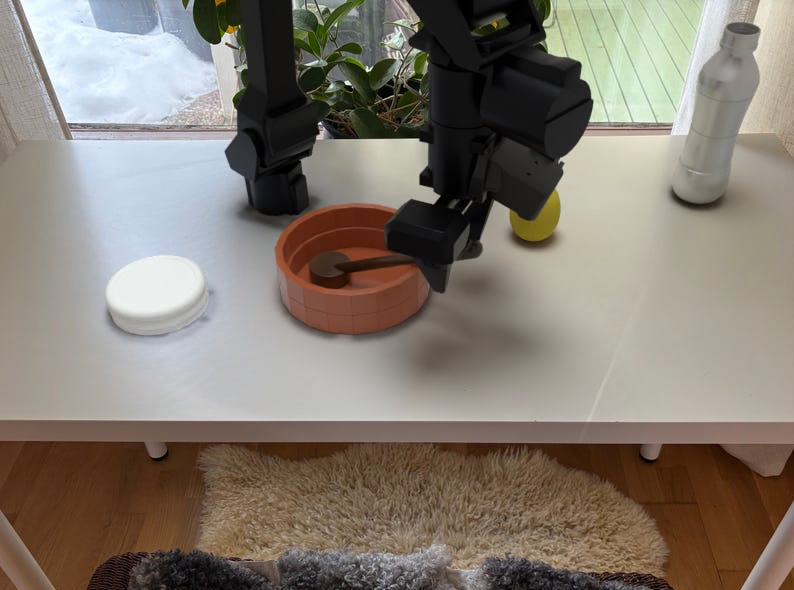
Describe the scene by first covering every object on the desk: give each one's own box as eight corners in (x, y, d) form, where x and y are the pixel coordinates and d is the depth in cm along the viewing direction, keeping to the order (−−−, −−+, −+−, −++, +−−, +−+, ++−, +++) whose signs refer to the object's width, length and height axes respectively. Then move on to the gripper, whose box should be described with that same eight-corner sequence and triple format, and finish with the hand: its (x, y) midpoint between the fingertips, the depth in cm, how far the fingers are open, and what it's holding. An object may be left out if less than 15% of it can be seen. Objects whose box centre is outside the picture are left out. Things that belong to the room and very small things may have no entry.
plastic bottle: (729, 190, 95) (783, 23, 81) (713, 217, 91) (766, 46, 77) (677, 175, 97) (720, 11, 83) (659, 201, 93) (701, 33, 79)
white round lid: (211, 273, 85) (204, 247, 82) (210, 333, 78) (204, 307, 75) (117, 285, 84) (108, 258, 81) (108, 347, 77) (98, 320, 74)
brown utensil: (302, 283, 82) (292, 206, 75) (323, 260, 85) (315, 184, 78) (468, 334, 76) (474, 256, 69) (484, 308, 79) (491, 230, 72)
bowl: (253, 314, 80) (244, 269, 76) (328, 234, 90) (323, 190, 86) (389, 358, 75) (387, 312, 71) (452, 267, 85) (454, 223, 81)
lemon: (554, 258, 86) (563, 195, 80) (504, 253, 86) (510, 190, 81) (557, 229, 89) (566, 168, 84) (509, 225, 90) (515, 163, 85)
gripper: (518, 191, 54) (502, 352, 65) (592, 83, 66) (568, 234, 77) (377, 158, 58) (384, 316, 69) (471, 61, 70) (464, 209, 81)
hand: (457, 266), depth 74 cm, fingers open, 8 cm apart
